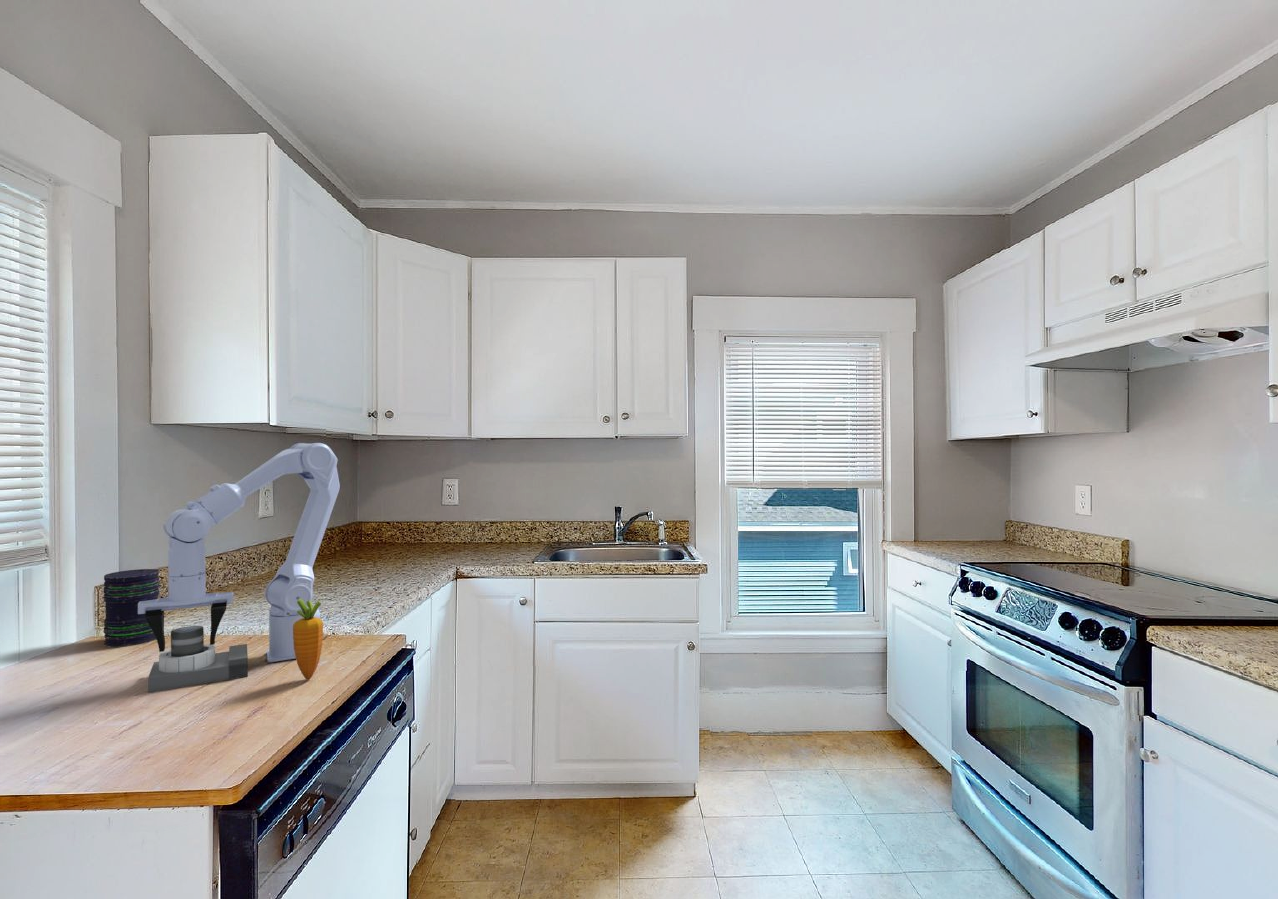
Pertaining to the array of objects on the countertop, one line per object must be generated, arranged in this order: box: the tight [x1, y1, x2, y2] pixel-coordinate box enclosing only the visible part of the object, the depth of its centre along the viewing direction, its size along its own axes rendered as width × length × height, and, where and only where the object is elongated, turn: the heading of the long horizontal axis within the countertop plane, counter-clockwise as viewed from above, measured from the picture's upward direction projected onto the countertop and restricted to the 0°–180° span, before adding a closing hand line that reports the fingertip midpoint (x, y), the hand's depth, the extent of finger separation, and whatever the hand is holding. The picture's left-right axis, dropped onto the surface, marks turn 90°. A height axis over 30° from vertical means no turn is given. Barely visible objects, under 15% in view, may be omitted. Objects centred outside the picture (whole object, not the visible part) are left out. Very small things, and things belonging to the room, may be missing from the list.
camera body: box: [147, 643, 249, 693], centre depth 122 cm, size 15×10×5 cm, turn 122°
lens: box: [170, 625, 205, 657], centre depth 121 cm, size 5×5×7 cm
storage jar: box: [103, 568, 160, 648], centre depth 144 cm, size 10×10×15 cm
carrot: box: [293, 599, 324, 681], centre depth 120 cm, size 5×5×15 cm
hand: (187, 646), depth 121 cm, fingers open, 7 cm apart
